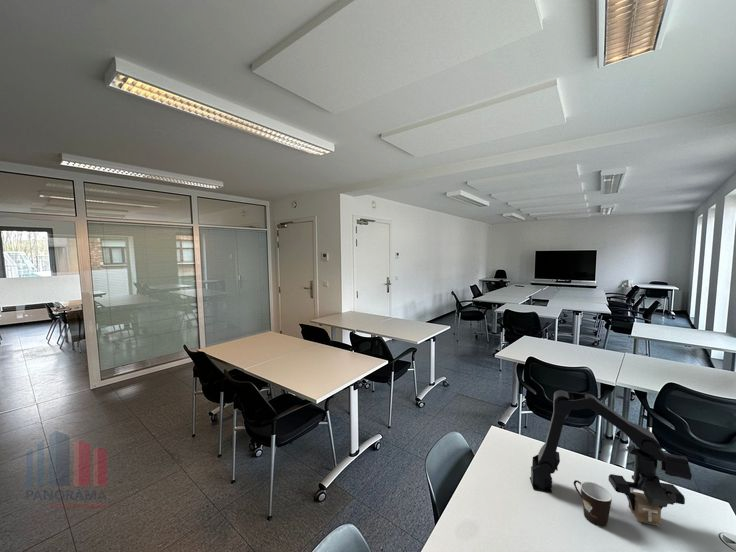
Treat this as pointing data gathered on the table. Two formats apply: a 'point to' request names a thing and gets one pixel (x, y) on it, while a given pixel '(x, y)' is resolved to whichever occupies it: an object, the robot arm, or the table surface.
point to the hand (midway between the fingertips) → (644, 511)
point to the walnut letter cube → (646, 510)
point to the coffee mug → (595, 502)
